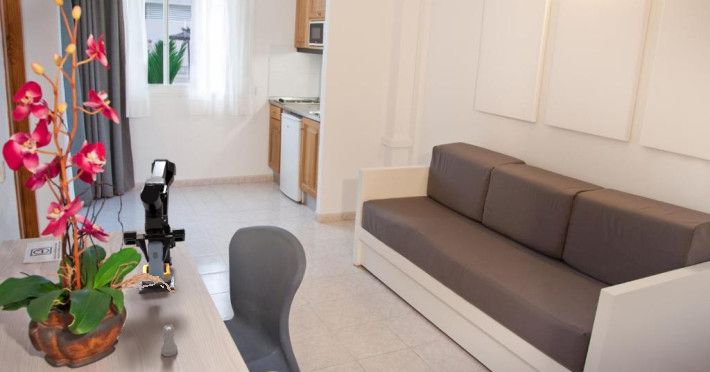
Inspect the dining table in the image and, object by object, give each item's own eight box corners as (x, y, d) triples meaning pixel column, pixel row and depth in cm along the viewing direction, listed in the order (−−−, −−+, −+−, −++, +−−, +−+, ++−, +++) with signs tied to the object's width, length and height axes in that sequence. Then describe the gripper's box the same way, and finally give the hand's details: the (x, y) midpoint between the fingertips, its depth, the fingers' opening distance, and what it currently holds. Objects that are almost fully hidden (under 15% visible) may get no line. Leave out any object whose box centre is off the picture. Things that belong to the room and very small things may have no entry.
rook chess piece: (177, 356, 156) (176, 330, 154) (160, 357, 155) (158, 331, 153) (178, 347, 160) (177, 322, 158) (161, 348, 159) (160, 323, 157)
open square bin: (140, 278, 198) (139, 263, 197) (173, 275, 202) (172, 261, 200) (139, 293, 188) (138, 277, 187) (174, 289, 192) (173, 275, 190)
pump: (149, 275, 187) (147, 241, 183) (163, 274, 188) (162, 240, 184) (149, 284, 181) (147, 249, 177) (164, 283, 182) (162, 248, 179)
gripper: (121, 207, 179) (122, 255, 172) (184, 204, 185) (186, 250, 178) (124, 222, 188) (124, 267, 182) (183, 218, 194) (186, 262, 188)
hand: (155, 261), depth 182 cm, fingers closed on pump, 4 cm apart
